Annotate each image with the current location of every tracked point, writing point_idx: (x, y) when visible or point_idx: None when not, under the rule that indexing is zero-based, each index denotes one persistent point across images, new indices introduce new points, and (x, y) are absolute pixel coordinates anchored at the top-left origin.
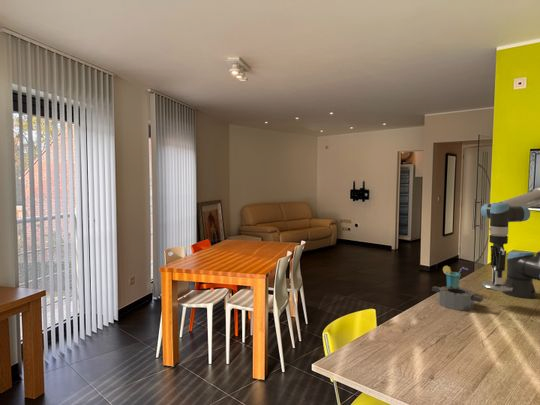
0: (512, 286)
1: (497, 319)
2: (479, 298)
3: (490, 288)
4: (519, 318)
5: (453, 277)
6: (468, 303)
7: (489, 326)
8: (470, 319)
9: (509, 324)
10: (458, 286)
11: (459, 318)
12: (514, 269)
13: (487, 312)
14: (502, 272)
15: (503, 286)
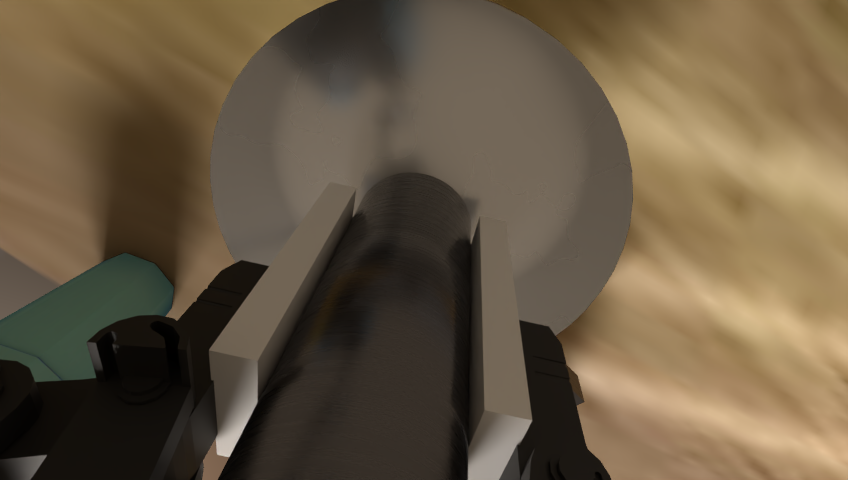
0: (522, 25)
1: (719, 287)
2: (577, 403)
3: None
4: (751, 101)
5: None
6: None
7: (809, 393)
8: (675, 425)
9: (832, 265)
10: (114, 298)
11: (648, 462)
12: None
13: None
14: (527, 385)
15: (508, 186)
